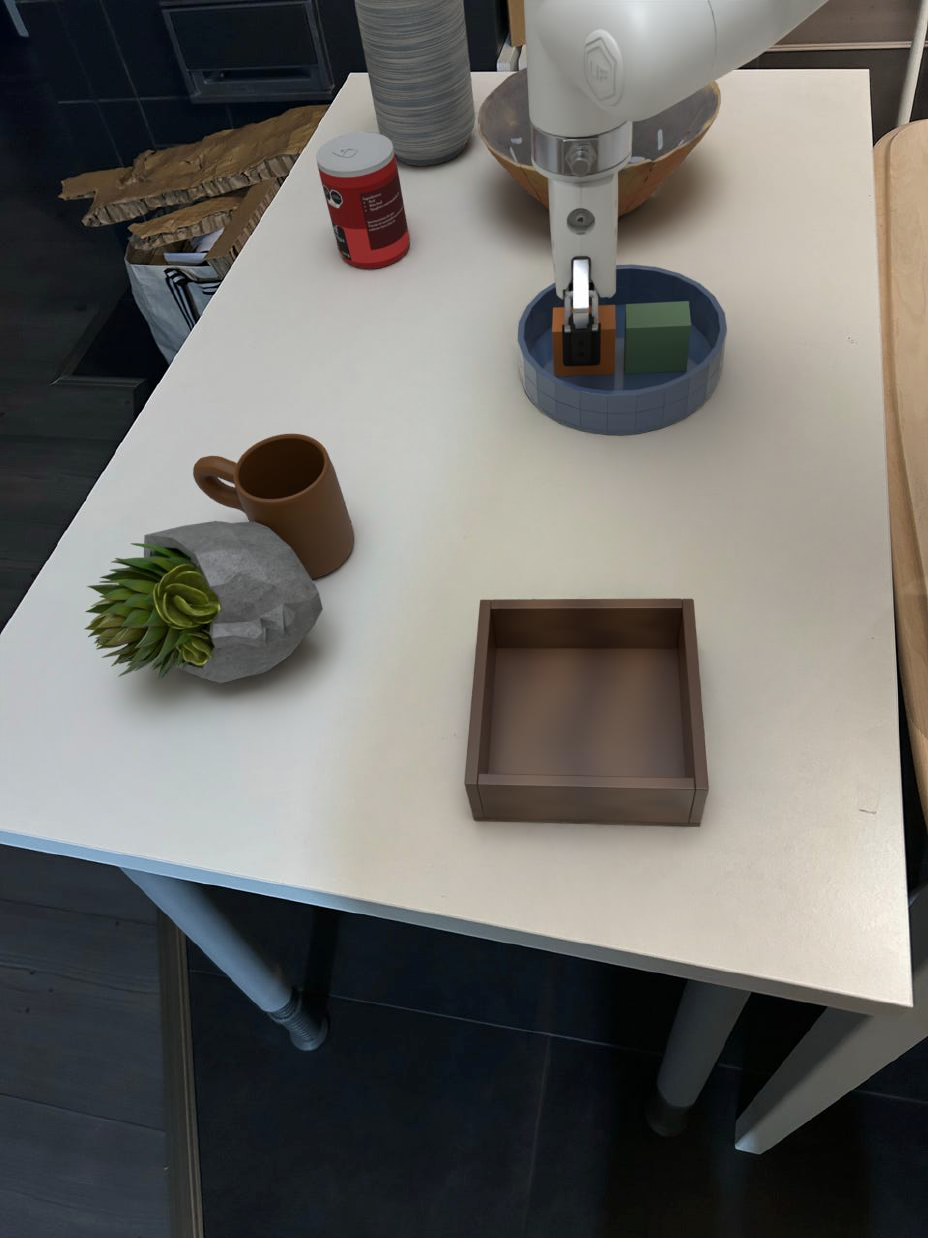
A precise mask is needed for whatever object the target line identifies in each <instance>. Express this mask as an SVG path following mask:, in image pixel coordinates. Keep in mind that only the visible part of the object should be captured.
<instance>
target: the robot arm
mask: <svg viewBox="0 0 928 1238" xmlns="http://www.w3.org/2000/svg"><path fill="white" fill-rule="evenodd" d="M828 2H829V0H523V13H524V33H525V35H524V36H525V56H526V67H527V77H528V98H529V116H530V117H529V119H530V139H531V159H532V164H533V167H534V168H535V169H536V171H538V172H539V173H540V174H541V175H543V176H545V177H547V178H548V190H549V209H548V210H549V228H550V229H549V230H550V242H551V253H552V264H553V273H554V274H553V276H554V283H555V284H556V293H557V295H558V297H559V298H561V299H562V300H564V298H565V324H562V347H563V365H564V366H596V365H599V364H600V357H601V323H598V296H599V295H600V297H601V298H603V297H608V298H611V297H612V296H613V295H614V294H615V292H616V265H617V255H618V254H617V252H618V224H619V222H618V220H619V217H618V171H620V170H621V169H622V168H624V167H625V166H626V165H627V163H628V162H629V160H630V158H631V154H632V131H633V121H641V120H644V119H648V118H650V117H652V116H654V115H657V114H659V113H660V112H662V111H664V110H666V109H667V108H669V107H671V106H673V105H675V104H676V103H678V102H680V101H682V100H683V99H685V98H687V97H689V96H690V95H692V94H694V93H695V92H696V91H697V90H699V89H701V88H703V87H705V86H707V85H708V84H710V83H712V82H714V81H717V80H719V79H720V78H723V77H724V76H726V75H728V74H729V73H731V72H734V71H736V70H737V69H739V68H740V67H743V66H744V65H746V64H748V63H750V62H751V61H753V60H755V59H756V58H758V57H759V56H761V55H762V54H763V53H765V52H767V50H769V49H770V48H772V47H773V46H774V45H776V44H777V43H778V42H779V41H781V40H782V39H783V38H784V37H786V36H787V35H788V34H789V33H791V32H792V31H793V30H794V29H796V28H798V26H799V25H801V24H802V23H803V22H804V21H806V20H807V19H808V18H809V17H810V16H811V15H813V14H814V13H816V11H818V10H819V9H820V8H821V7H822V6H824V5H825V4H826V3H828ZM589 299H592V314H591V313H589ZM571 300H573V313H571Z"/></svg>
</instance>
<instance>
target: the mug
mask: <svg viewBox="0 0 928 1238" xmlns="http://www.w3.org/2000/svg"><path fill="white" fill-rule="evenodd" d="M192 475H193V479H194V481H195V484H196V485H197V486H198V489H200V491H202V493H204V494H205V496H207V497H209V499H211V500H212V501H214V502H215V503H218V504H220V505H222V506H224V507H228V508H230V509H236V510H239V511H240V512H242V513H244V515H245V516H246V519H247V521H248V522H252V521H254V522H257V523H259V524H261V525H264V526H266V527H269V528H270V529H271V530H272V531H273V532H274V533H275V534H276V535H277V536H279V537H280V538H281V539H282V540H283V541H284V542H285V543H286V544H288V545H289V546H290V547H291V548H292V549H293V551H294V553H295V554H296V556H297V557H298V559H299V560H300V562H301V563H302V565H303V567H304V568H305V570H306V571H307V573H308V574H309V576H310V578H311V580H312V579H317V578H319V577H323V576H326V575H329V574H330V573H332V572H333V571H335V570H336V569H338V568H340V566H341V565H342V564H343V563H344V562H345V561H346V559H347V558H348V557H349V555H350V554H351V551H352V549H353V546H354V540H355V533H354V526H353V524H352V523H353V522H352V519H351V517H350V514H349V510H348V508H347V503H346V500H345V498H344V494H343V492H342V487H341V485H340V482H339V478H338V475H337V472H336V469H335V466H334V464H333V462H332V460H331V458H330V455H329V453H328V451H327V449H326V448H325V446H324V445H323V444H322V443H321V442H320V441H318V440H317V439H315V438H314V437H311V436H309V435H306V434H300V433H282V434H277V435H272V436H270V437H269V436H268V437H266V438H265V439H262V440H260V441H258V442H256V443H255V444H253V445H252V446H250V447H249V448H248V449H247V450H246V451H244V452H243V454H242V455H241V456H240V457H239V459H238V461H237V462H235V461H234V460H230V459H229V458H225V457H223V456H220V455H208V456H203V457H200V458H199V459H198V460H197V461H196V462H195V463H194V465H193V469H192ZM222 480H223V481H225V482H228V483H229V484H233V485H234V486H231V485H229V484H226V483H225V482H223V481H222Z"/></svg>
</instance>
